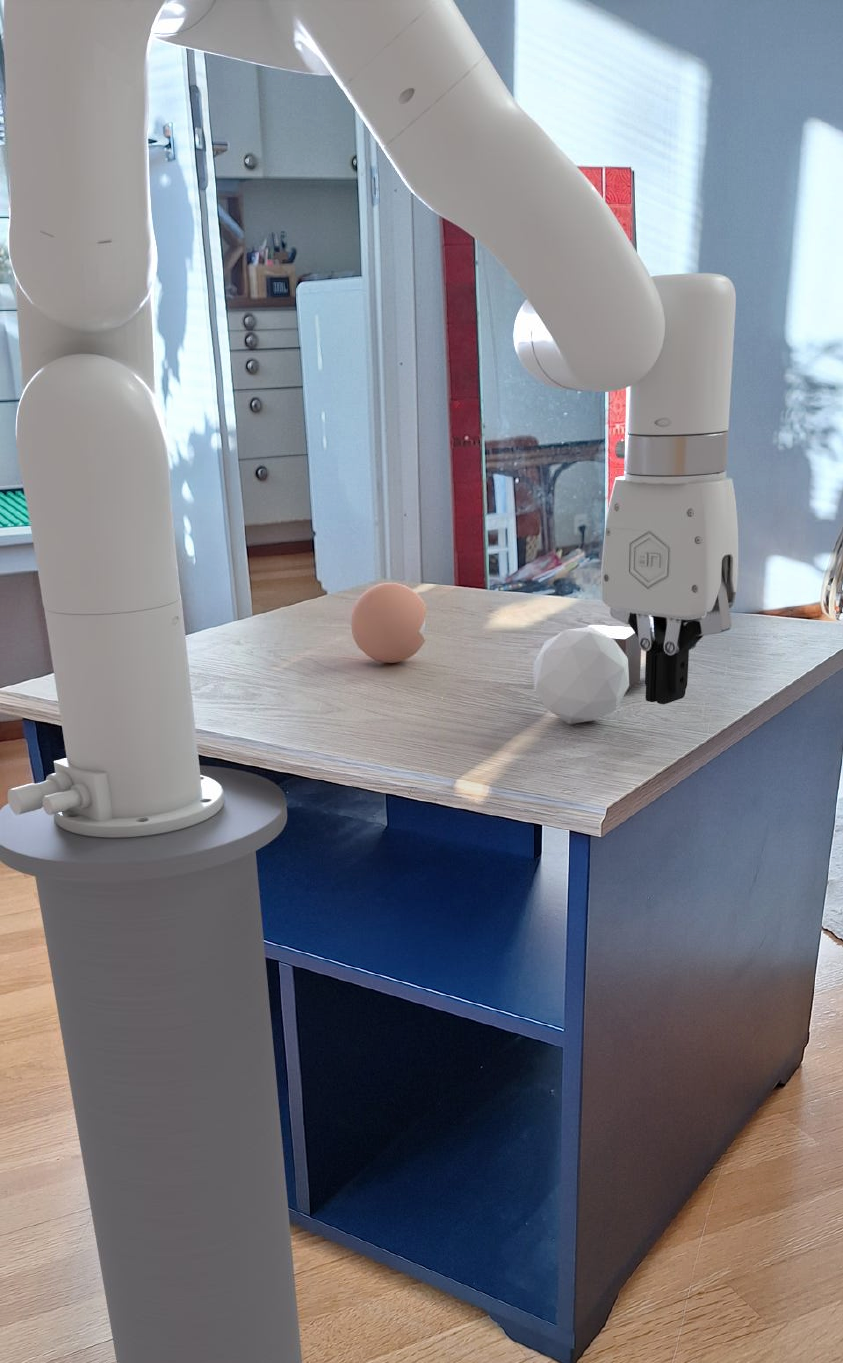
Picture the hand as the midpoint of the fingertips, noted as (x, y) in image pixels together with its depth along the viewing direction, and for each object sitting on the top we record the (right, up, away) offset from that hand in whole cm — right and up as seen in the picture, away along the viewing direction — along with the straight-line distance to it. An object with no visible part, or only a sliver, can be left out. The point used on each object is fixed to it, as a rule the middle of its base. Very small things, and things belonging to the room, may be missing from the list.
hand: (665, 699), depth 103 cm
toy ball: (-23, +8, +28) cm, 37 cm away
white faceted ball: (-7, 0, +8) cm, 10 cm away
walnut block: (-2, +4, +17) cm, 17 cm away
